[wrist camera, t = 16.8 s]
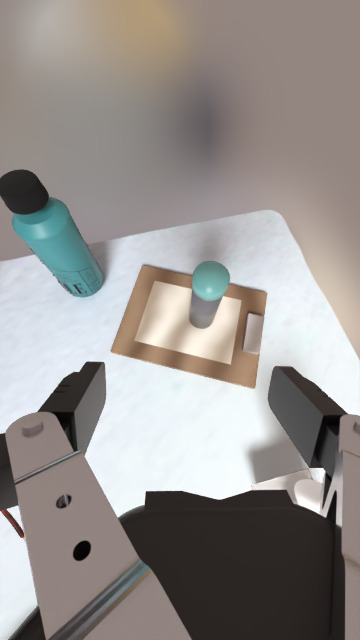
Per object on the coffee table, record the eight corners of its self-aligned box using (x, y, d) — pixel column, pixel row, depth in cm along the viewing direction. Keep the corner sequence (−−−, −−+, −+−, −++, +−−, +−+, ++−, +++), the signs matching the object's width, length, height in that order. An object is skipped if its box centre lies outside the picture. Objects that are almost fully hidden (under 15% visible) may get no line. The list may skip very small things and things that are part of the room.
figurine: (266, 558, 28) (355, 700, 14) (239, 468, 31) (290, 509, 17) (322, 539, 29) (460, 656, 15) (290, 453, 32) (378, 481, 18)
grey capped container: (185, 326, 38) (189, 288, 27) (191, 302, 39) (197, 258, 28) (211, 332, 37) (226, 296, 26) (216, 308, 39) (232, 265, 28)
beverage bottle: (104, 266, 43) (49, 152, 24) (109, 299, 40) (52, 199, 22) (67, 274, 42) (-20, 161, 23) (70, 307, 40) (-23, 211, 21)
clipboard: (111, 352, 37) (108, 349, 35) (142, 267, 43) (141, 261, 41) (253, 388, 35) (257, 387, 34) (265, 295, 41) (269, 290, 39)
